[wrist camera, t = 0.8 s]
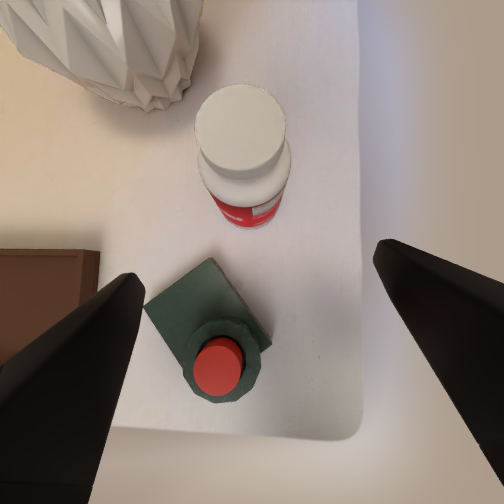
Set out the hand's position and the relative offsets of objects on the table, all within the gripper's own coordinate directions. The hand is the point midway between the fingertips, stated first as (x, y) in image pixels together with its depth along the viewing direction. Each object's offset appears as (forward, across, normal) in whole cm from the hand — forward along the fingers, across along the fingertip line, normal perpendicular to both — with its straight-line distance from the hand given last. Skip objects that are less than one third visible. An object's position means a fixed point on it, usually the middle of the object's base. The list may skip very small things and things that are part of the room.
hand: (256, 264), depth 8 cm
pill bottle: (+14, 0, +4) cm, 15 cm away
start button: (+2, +4, +12) cm, 13 cm away
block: (+6, +6, +12) cm, 15 cm away
